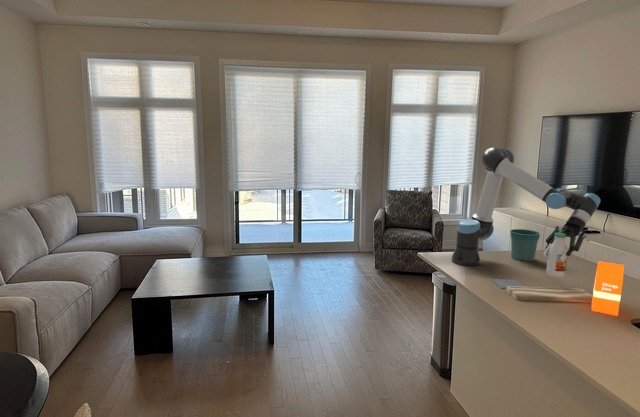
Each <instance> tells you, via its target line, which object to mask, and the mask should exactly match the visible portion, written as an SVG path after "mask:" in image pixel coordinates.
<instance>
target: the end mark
mask: <svg viewBox="0 0 640 417" xmlns="http://www.w3.org/2000/svg"><path fill="white" fill-rule="evenodd" d="M491 281H492V282H493V283H494V284H496V285H497V286H498V287H499V288H500V289H504V290H505V288H506V286H524V287H526V286H525V285H523V284H522V283H520V281H518V280H517V279H500V278H499V279H498V278H497V279H496V278H495V279H494V278H491Z"/></svg>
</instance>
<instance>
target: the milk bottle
mask: <svg viewBox="0 0 640 417" xmlns="http://www.w3.org/2000/svg"><path fill="white" fill-rule="evenodd" d="M566 239H567V237H566V234H564V233H560V232H559V233H555V240H554V242H553V243H552V245H551V246H550V249H549V254H548V256H547V263H546V274H547V275H549V276H550V277H551V276H552V277H555V278H563V277H564V278H565V275H566V271H567V270H566V268H567V259H568V257H567V258H566V259H565V261H564V262H562V261H561V259H560V258H561V256H562V255H563V253H564V252H565V250H566V249H567V248H568V247H567V244H566Z"/></svg>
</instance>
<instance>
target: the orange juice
mask: <svg viewBox="0 0 640 417" xmlns="http://www.w3.org/2000/svg"><path fill="white" fill-rule="evenodd" d="M624 270H625V264H621V263H620V264H619V263H614V262H606V261H601V260H600V261H598V263H597V268H596V272H595V278H594V285H593V292H592V295H593V298H592V303H591V311H592V312H595V313H596V312H598V313H602V314H605V315H611V316H619V310H620V309H619V308H620V302H621V297H622V292H623V291H622V290H623V289H622V288H623V282H624V273H625V272H624Z"/></svg>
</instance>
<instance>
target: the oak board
mask: <svg viewBox="0 0 640 417" xmlns="http://www.w3.org/2000/svg"><path fill="white" fill-rule="evenodd" d="M524 286H525V285H523V286H506V288H505V289H504V290H505V291H506V293H508V294H509V295H510V296H512V297H513V299H515V300H517V301H537V302H538V301H540V302H564V303H567V302H568V303H589V304H590V303H591V304H592V298H593V294H591V293H589V292H587V291H586V290H584V289H583V288H575V287H572V288H571V287H570V288H569V287H568V288H567V287H548V286H545V287H544V286H525V287H524Z"/></svg>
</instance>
